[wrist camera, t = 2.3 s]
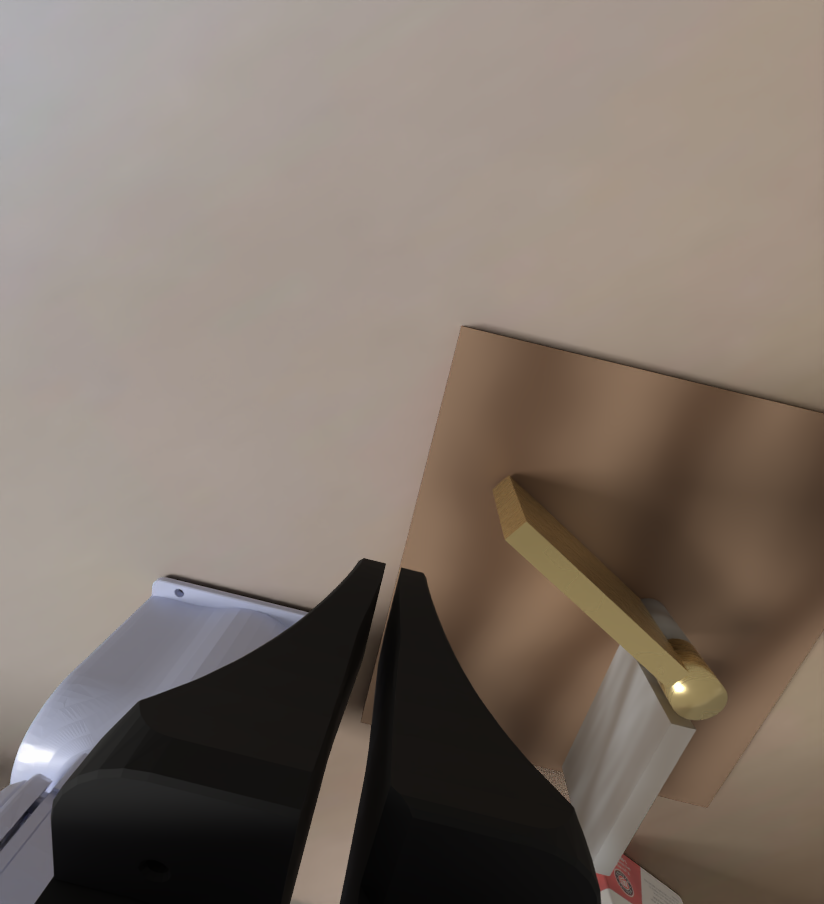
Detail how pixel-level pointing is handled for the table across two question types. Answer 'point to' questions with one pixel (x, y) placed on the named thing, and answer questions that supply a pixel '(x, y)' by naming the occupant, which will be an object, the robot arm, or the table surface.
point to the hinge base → (620, 564)
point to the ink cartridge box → (634, 886)
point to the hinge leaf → (608, 602)
